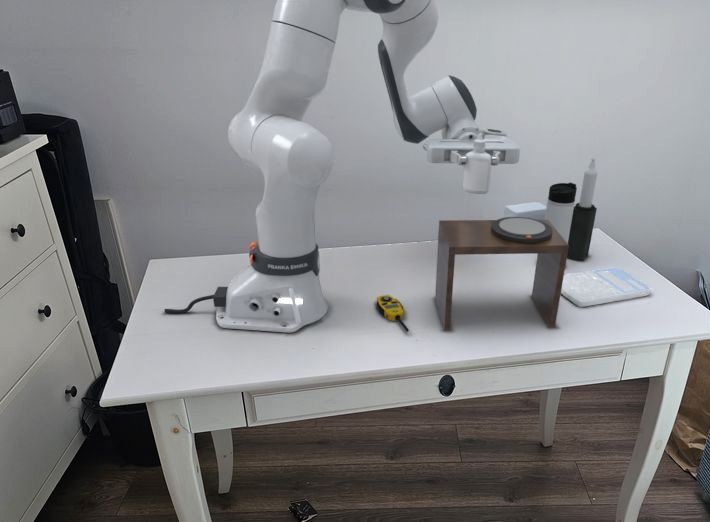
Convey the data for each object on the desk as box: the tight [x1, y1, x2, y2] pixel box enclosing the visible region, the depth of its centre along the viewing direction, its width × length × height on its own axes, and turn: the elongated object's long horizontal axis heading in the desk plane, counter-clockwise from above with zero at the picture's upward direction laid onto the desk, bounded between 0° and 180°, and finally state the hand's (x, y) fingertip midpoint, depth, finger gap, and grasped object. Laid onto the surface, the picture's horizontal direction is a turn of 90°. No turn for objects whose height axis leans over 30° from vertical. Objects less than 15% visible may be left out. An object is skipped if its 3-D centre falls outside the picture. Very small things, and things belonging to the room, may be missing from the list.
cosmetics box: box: [502, 201, 547, 220], centre depth 161 cm, size 10×6×10 cm, turn 113°
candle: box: [567, 157, 598, 262], centre depth 152 cm, size 5×5×25 cm
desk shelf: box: [434, 219, 569, 332], centre depth 127 cm, size 23×14×18 cm, turn 96°
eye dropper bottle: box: [461, 134, 492, 195], centre depth 130 cm, size 4×6×12 cm
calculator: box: [561, 266, 652, 308], centre depth 142 cm, size 13×20×2 cm, turn 112°
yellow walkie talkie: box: [376, 294, 410, 333], centre depth 128 cm, size 5×2×15 cm
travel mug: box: [545, 181, 578, 244], centre depth 148 cm, size 6×7×20 cm
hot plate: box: [491, 217, 553, 244], centre depth 122 cm, size 12×12×1 cm
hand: (479, 161), depth 129 cm, fingers closed on eye dropper bottle, 5 cm apart
